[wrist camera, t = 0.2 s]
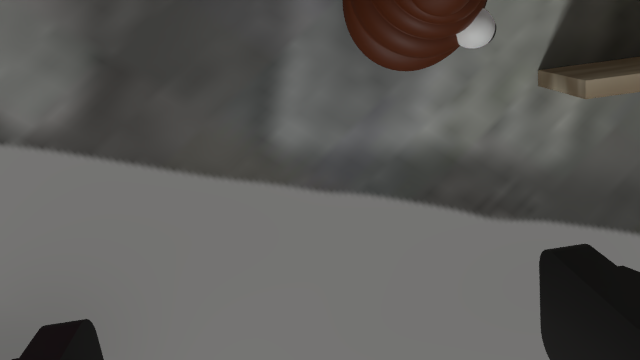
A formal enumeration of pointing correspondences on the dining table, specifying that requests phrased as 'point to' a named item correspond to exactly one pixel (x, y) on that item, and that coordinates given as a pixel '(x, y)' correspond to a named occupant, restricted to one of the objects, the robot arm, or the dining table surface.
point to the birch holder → (594, 78)
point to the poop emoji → (416, 29)
